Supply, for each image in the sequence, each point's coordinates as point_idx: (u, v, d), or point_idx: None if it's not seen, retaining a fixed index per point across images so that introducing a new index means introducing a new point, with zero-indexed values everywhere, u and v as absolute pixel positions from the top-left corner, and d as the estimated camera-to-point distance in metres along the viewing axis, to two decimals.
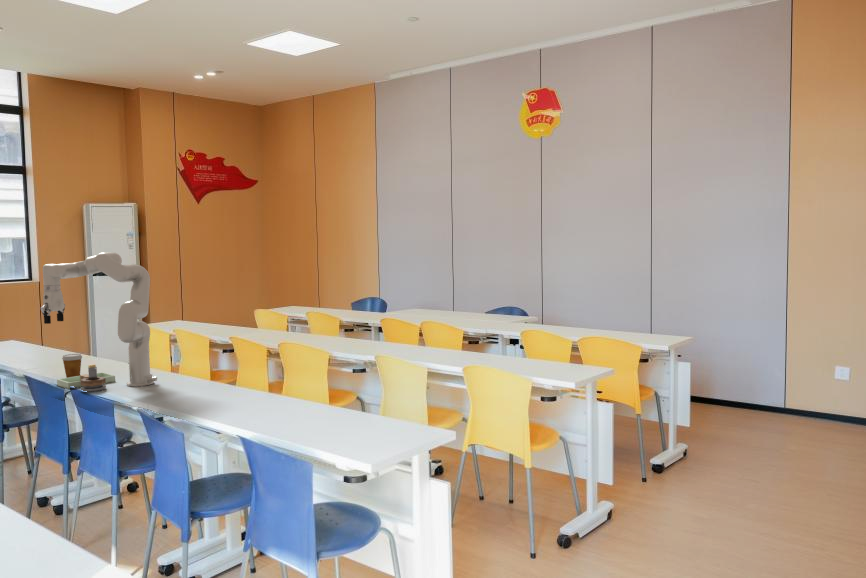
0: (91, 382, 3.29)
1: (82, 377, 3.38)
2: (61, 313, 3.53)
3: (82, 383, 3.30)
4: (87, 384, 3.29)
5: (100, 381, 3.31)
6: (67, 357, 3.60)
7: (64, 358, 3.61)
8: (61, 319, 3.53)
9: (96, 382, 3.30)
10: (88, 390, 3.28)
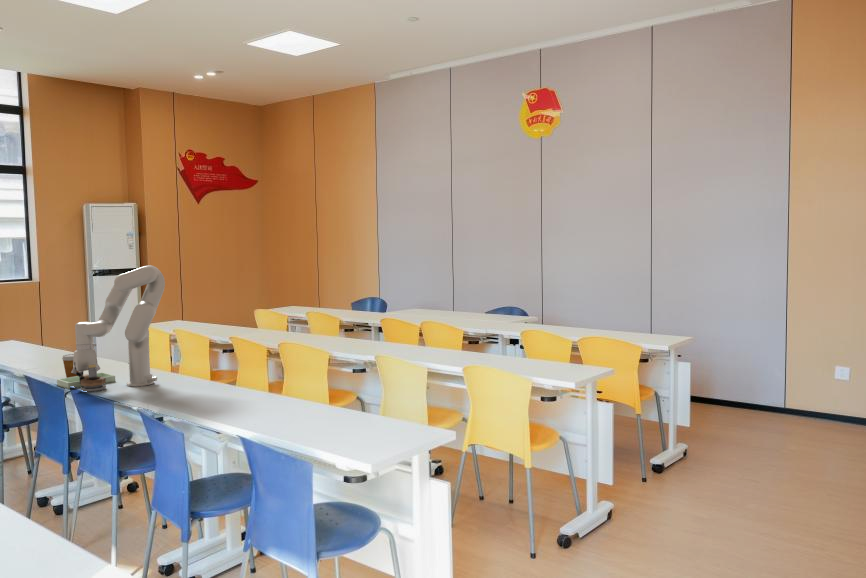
0: (91, 382, 3.29)
1: None
2: None
3: (82, 383, 3.30)
4: (87, 384, 3.29)
5: (100, 381, 3.31)
6: (67, 357, 3.60)
7: (64, 358, 3.61)
8: None
9: (96, 382, 3.30)
10: (88, 390, 3.28)
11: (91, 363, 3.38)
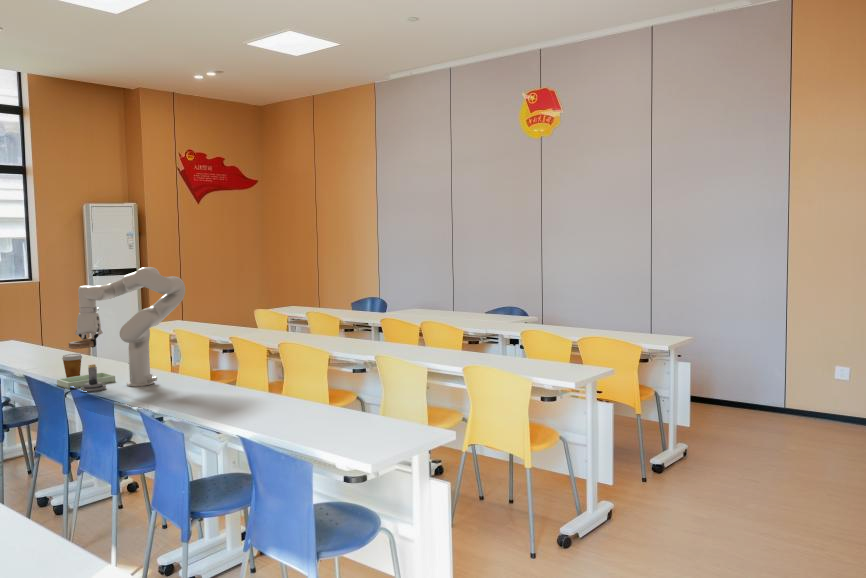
0: (70, 345, 3.32)
1: None
2: None
3: None
4: (69, 346, 3.34)
5: (78, 345, 3.32)
6: (67, 357, 3.60)
7: (64, 358, 3.61)
8: None
9: (74, 345, 3.32)
10: (88, 390, 3.28)
11: (89, 327, 3.42)
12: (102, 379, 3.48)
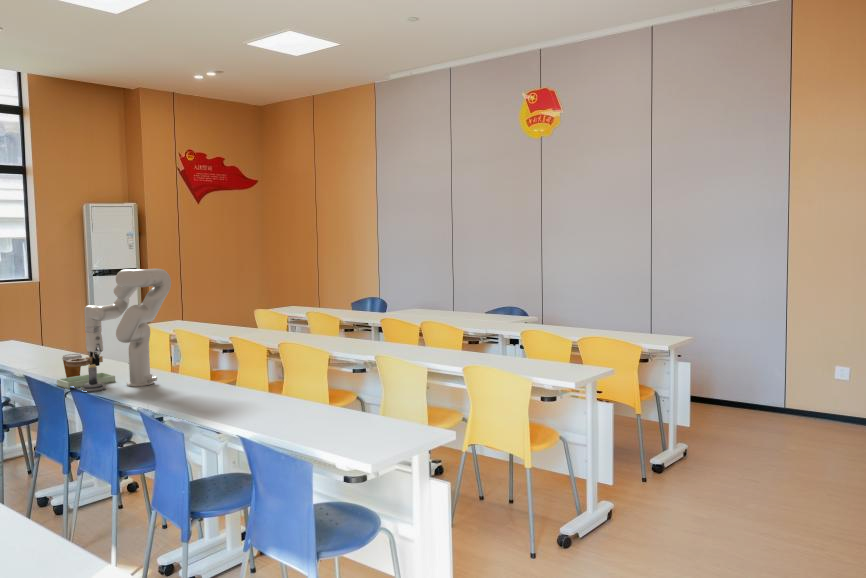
0: None
1: None
2: None
3: None
4: None
5: (68, 363, 3.42)
6: (67, 357, 3.60)
7: (64, 358, 3.61)
8: None
9: (66, 363, 3.43)
10: (88, 390, 3.28)
11: (90, 346, 3.49)
12: (102, 379, 3.48)
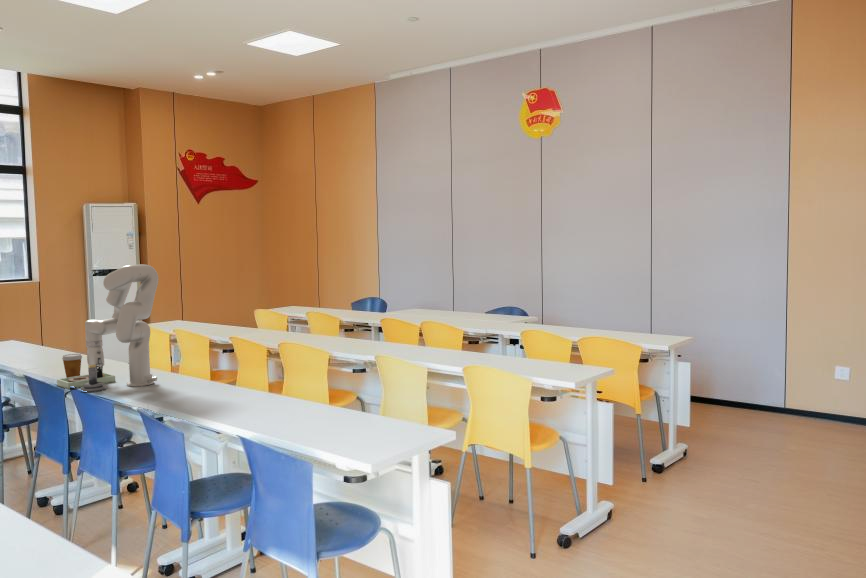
0: None
1: None
2: None
3: None
4: None
5: None
6: (67, 357, 3.60)
7: (64, 358, 3.61)
8: None
9: (69, 382, 3.44)
10: (88, 390, 3.28)
11: (91, 360, 3.49)
12: (102, 379, 3.48)
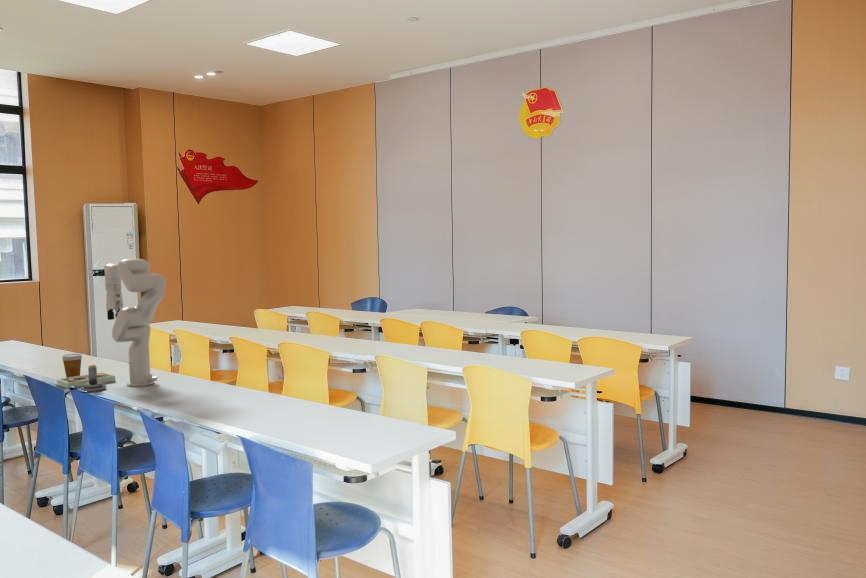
0: None
1: None
2: (112, 311, 3.66)
3: None
4: None
5: None
6: (67, 357, 3.60)
7: (64, 358, 3.61)
8: (113, 317, 3.66)
9: (69, 382, 3.44)
10: (88, 390, 3.28)
11: (111, 303, 3.59)
12: (102, 379, 3.48)
